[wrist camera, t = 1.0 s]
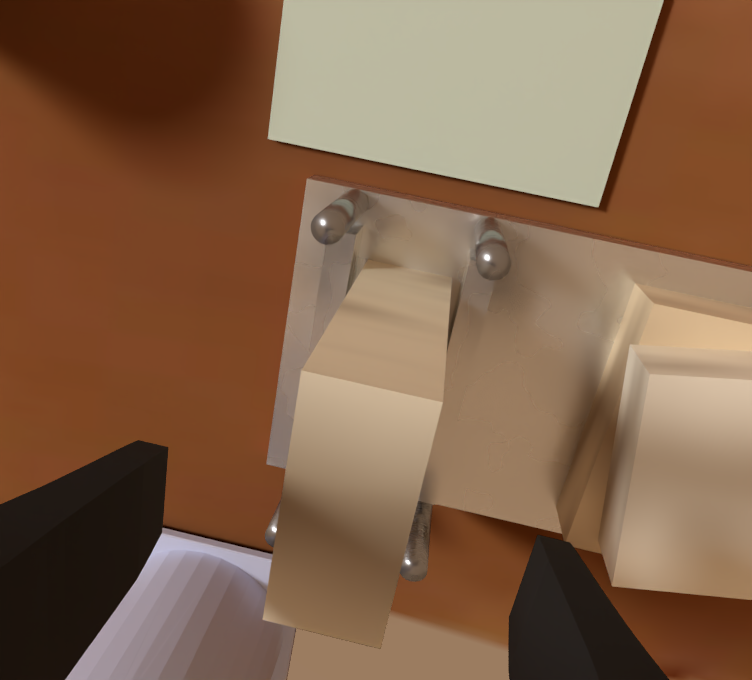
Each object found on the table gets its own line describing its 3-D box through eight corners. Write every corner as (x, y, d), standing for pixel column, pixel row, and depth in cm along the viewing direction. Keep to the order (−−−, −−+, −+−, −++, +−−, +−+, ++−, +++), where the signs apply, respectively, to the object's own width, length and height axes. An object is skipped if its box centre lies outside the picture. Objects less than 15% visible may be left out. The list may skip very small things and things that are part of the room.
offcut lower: (704, 541, 21) (727, 583, 19) (556, 506, 22) (564, 545, 20) (808, 320, 18) (846, 345, 16) (635, 282, 19) (653, 303, 17)
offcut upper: (750, 553, 19) (781, 602, 17) (597, 539, 19) (611, 586, 18) (804, 353, 17) (847, 385, 15) (629, 344, 17) (649, 374, 15)
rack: (712, 552, 23) (776, 669, 18) (274, 449, 23) (227, 536, 19) (840, 285, 19) (963, 346, 14) (314, 174, 20) (268, 198, 15)
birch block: (411, 446, 21) (380, 648, 14) (336, 429, 22) (262, 619, 14) (452, 277, 19) (442, 402, 11) (368, 259, 19) (301, 370, 12)
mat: (596, 206, 19) (598, 207, 19) (270, 138, 19) (267, 138, 19) (672, -39, 17) (676, -41, 16) (299, -108, 17) (297, -111, 17)
